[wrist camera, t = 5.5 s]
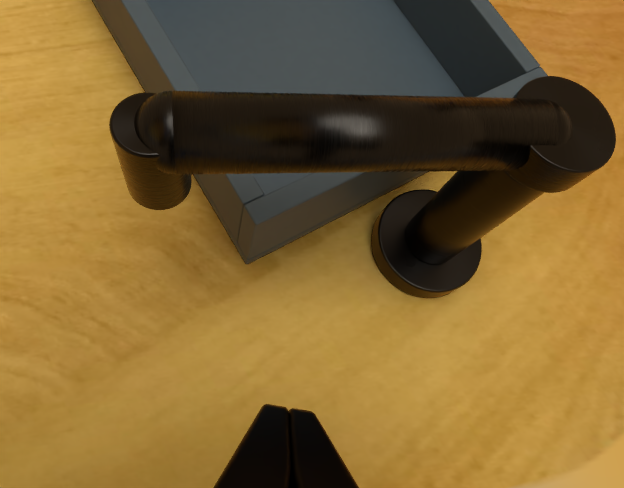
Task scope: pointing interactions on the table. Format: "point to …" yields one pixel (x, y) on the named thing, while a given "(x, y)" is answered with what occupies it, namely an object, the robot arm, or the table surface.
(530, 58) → the sink
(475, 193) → the tap column
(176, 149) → the spout
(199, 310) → the table surface
